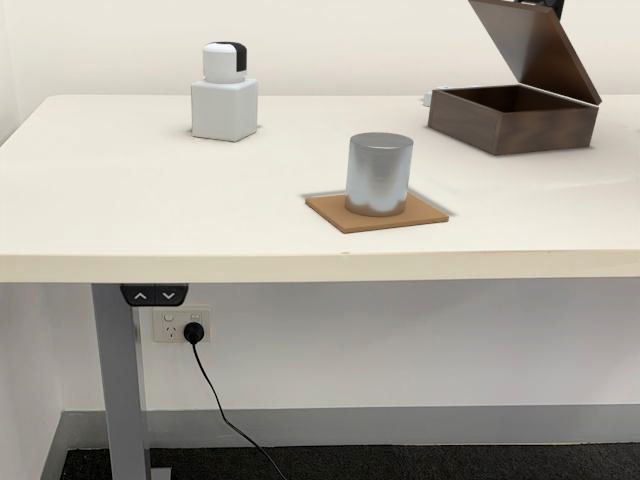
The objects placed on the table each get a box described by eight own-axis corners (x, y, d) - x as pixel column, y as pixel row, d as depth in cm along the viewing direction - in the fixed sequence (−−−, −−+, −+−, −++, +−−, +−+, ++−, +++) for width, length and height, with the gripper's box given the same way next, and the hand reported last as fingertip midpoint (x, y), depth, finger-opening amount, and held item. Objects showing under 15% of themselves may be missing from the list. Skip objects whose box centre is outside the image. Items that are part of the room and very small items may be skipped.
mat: (401, 192, 86) (402, 188, 86) (448, 221, 78) (449, 216, 78) (304, 202, 83) (305, 198, 82) (343, 233, 75) (344, 228, 75)
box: (493, 162, 97) (502, 114, 94) (426, 132, 110) (432, 89, 107) (587, 153, 101) (599, 107, 98) (511, 125, 114) (519, 84, 111)
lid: (547, 12, 89) (576, -19, 88) (467, -1, 102) (492, -28, 101) (597, 106, 98) (625, 78, 97) (518, 83, 111) (541, 58, 110)
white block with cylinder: (214, 126, 112) (213, 38, 106) (257, 131, 110) (259, 41, 103) (191, 136, 107) (189, 44, 101) (236, 142, 104) (236, 48, 98)
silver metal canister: (387, 195, 84) (394, 130, 80) (416, 213, 78) (425, 145, 75) (334, 200, 82) (339, 134, 78) (360, 219, 77) (367, 150, 73)
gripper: (654, -155, 83) (609, 28, 93) (565, -146, 95) (534, 15, 105) (599, -157, 81) (559, 30, 91) (515, -148, 93) (488, 17, 103)
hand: (545, 22), depth 98 cm, fingers closed
